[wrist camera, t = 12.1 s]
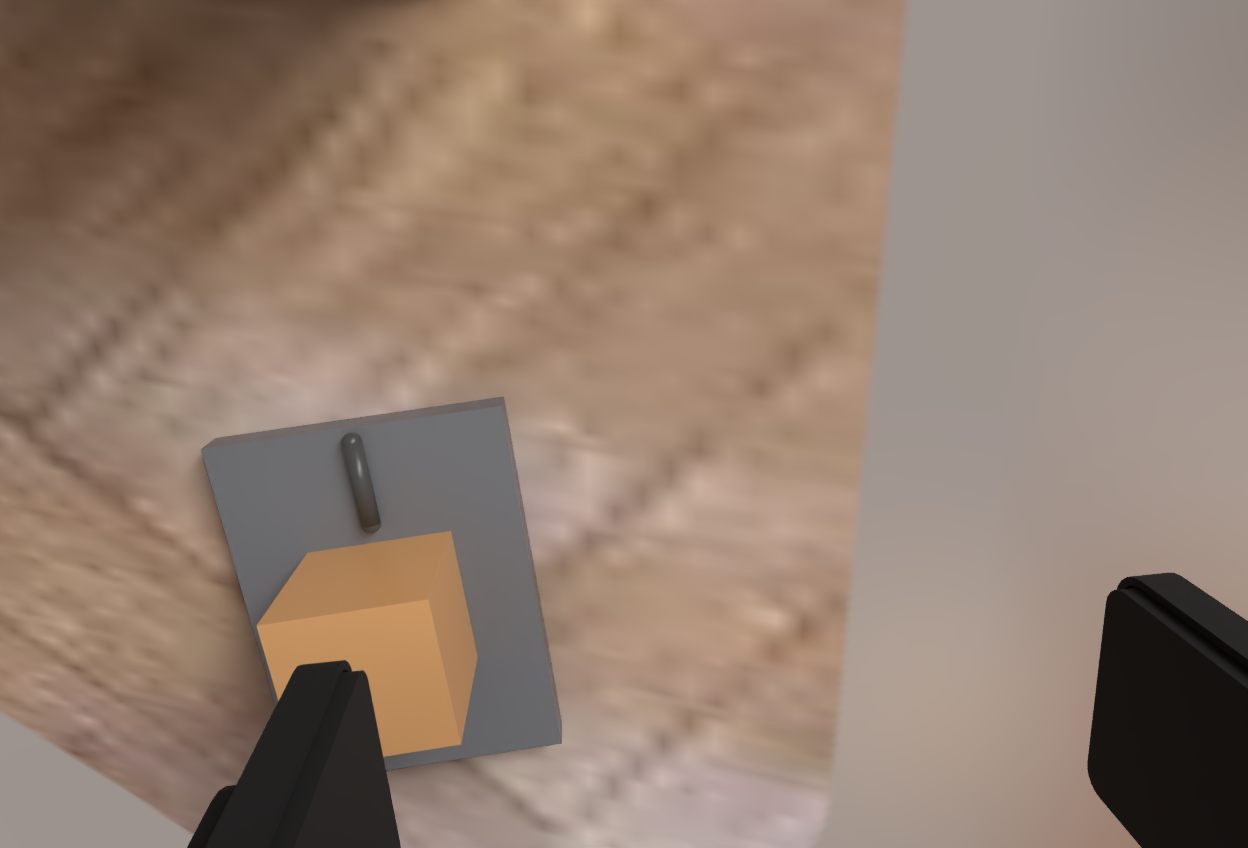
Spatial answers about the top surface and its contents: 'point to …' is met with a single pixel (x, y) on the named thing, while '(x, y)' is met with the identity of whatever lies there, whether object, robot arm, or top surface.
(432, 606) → the tan wooden cube
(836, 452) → the top surface
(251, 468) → the plate
